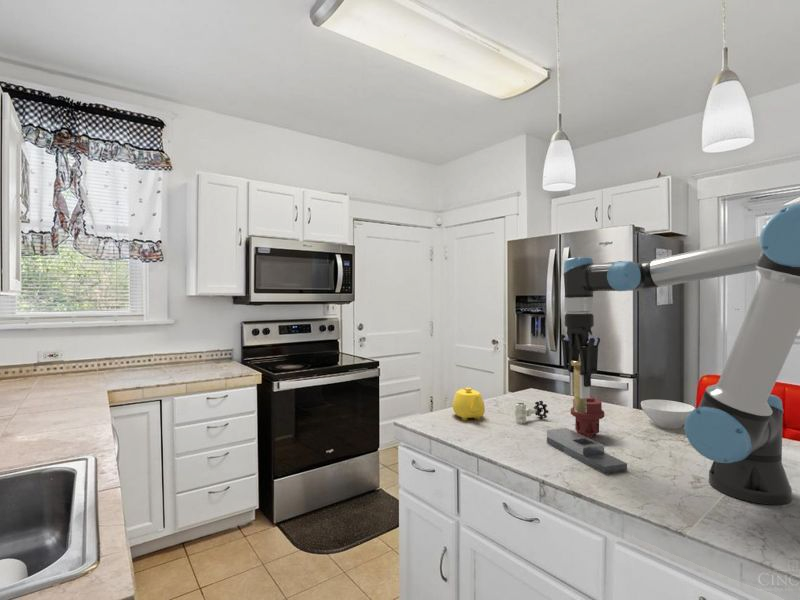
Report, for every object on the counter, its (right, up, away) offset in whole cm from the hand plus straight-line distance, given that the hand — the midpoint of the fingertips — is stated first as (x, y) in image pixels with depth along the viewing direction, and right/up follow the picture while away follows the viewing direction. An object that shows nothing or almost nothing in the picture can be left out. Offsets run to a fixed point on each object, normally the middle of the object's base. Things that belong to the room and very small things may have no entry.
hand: (580, 396), depth 123 cm
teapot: (-25, -16, +38) cm, 49 cm away
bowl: (+41, -16, +27) cm, 52 cm away
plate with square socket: (+1, -17, 0) cm, 17 cm away
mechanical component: (+9, -17, +18) cm, 26 cm away
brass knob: (0, -4, 0) cm, 4 cm away
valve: (-4, -16, +34) cm, 38 cm away
